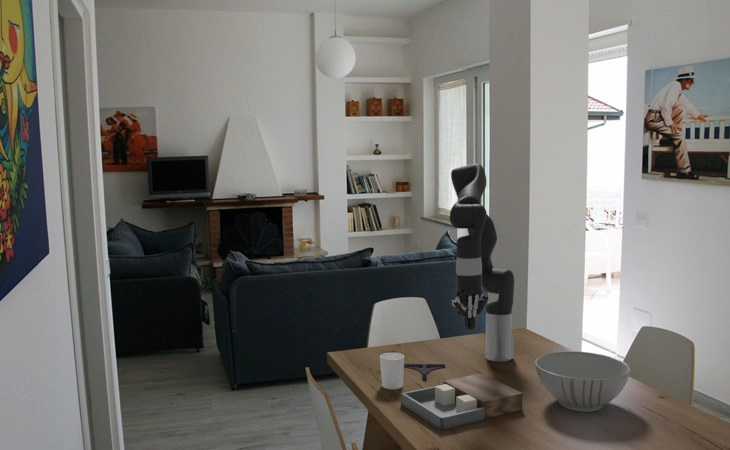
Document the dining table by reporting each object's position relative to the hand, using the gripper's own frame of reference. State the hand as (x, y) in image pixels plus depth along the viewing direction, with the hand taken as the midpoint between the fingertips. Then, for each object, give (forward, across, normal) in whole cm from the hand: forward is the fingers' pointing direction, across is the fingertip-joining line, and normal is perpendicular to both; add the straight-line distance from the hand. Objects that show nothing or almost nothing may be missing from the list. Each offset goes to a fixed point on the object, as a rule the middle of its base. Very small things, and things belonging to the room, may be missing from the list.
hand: (469, 329), depth 194 cm
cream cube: (+20, +6, -3) cm, 21 cm away
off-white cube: (+20, +6, +8) cm, 22 cm away
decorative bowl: (+23, -27, +18) cm, 40 cm away
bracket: (+24, -3, -29) cm, 38 cm away
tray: (+22, +12, +2) cm, 26 cm away
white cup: (+23, +13, -24) cm, 36 cm away
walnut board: (+23, -2, +2) cm, 23 cm away
